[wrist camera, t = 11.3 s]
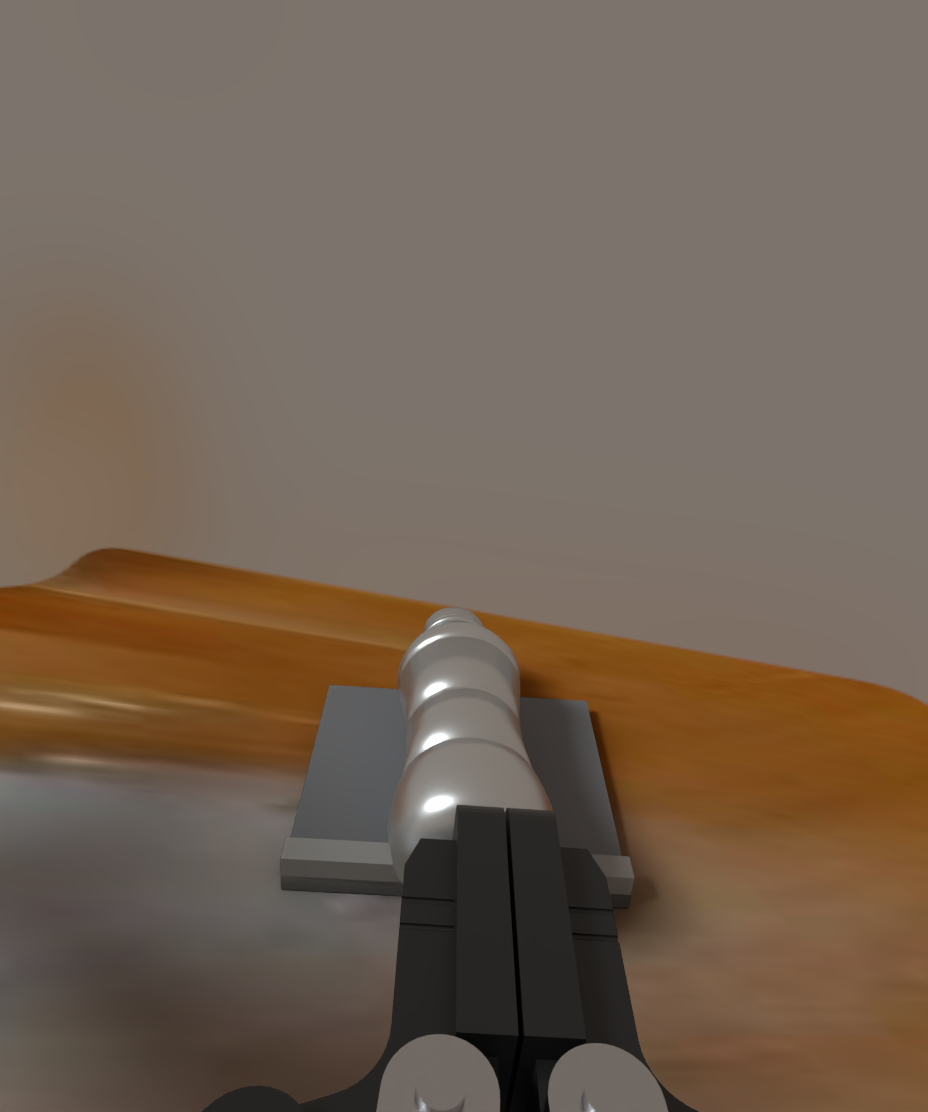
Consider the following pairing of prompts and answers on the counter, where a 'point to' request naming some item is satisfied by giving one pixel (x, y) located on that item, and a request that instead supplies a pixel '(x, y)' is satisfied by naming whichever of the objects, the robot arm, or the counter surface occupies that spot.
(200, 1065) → the counter surface
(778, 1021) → the counter surface
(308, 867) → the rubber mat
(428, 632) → the silver aluminum bottle
